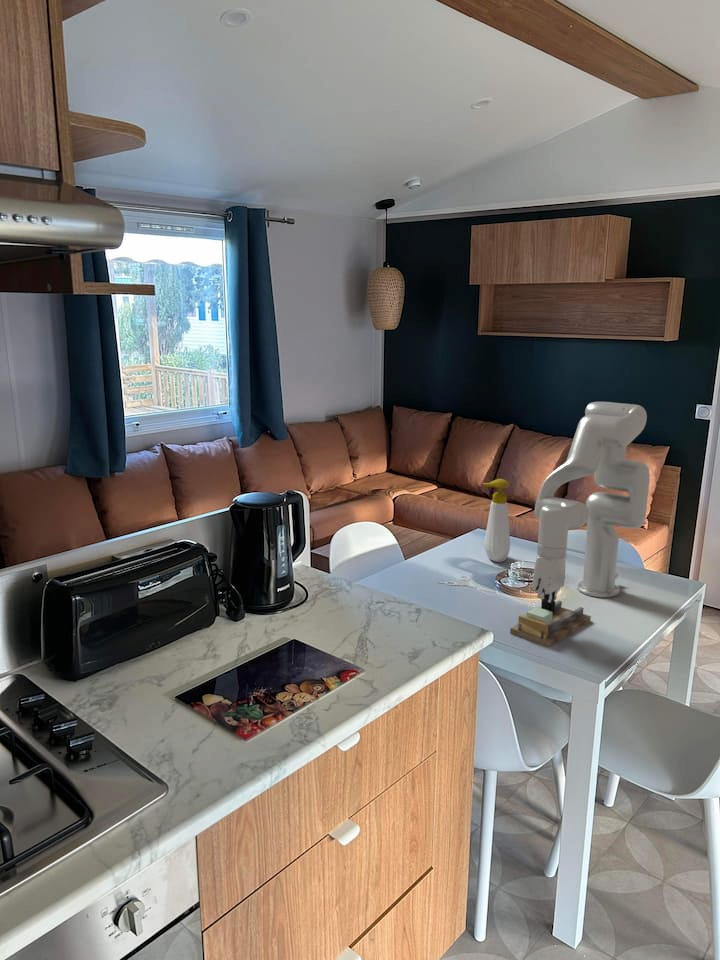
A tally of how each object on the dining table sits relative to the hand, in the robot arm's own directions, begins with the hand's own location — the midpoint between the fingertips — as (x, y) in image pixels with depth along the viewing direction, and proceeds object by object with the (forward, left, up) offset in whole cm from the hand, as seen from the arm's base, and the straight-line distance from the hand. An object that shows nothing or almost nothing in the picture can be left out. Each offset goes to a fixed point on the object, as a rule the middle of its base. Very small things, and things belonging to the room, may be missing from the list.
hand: (547, 614), depth 203 cm
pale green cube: (+4, 0, -3) cm, 5 cm away
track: (-3, 0, -5) cm, 5 cm away
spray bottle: (-40, -43, -5) cm, 59 cm away
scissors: (-13, -33, -5) cm, 36 cm away
